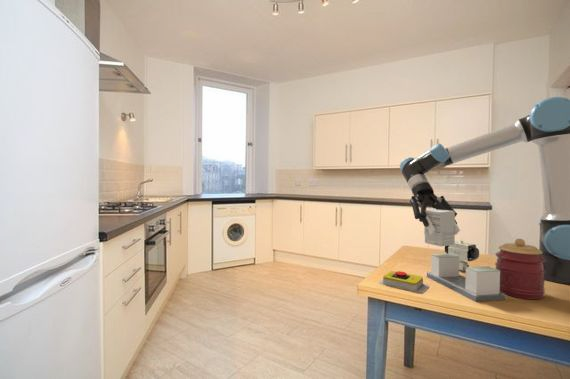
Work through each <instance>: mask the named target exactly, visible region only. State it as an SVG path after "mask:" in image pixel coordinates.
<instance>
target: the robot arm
mask: <svg viewBox="0 0 570 379" xmlns="http://www.w3.org/2000/svg"><path fill="white" fill-rule="evenodd" d="M521 142H524V143H529V142H532V143H533V144H535V145H537V146H538V154H539V156H538V157H539V165H540V173H541V182H542V183H541V184H542V191H543V201H544V209H545V210H544V212H545V213H544V215H542V216H541V217H540V219H539V222H538V223H539V245H538V246H539V247H538V249H539V250H541V251H542V252H543V253H542V254H541V256H542V257H543V258H545V259H546V261H545V262H544V263H543V266H544V269H545V280H546V281H549V282H554V283H560V284H564V285H565V284H566V285H570V99H569V98H566V97H562V96H552V97H547V98H545V99H543V100H541V101H539V102H538V103H536V104H535V105H534V106H533V107H532V108H531V110H530V113H529V114H528V115H526V116H524V117H521V118H519V119H516V121H515V123H513V124H510V125H508V126H504V127H502V128H499V129H496V130H493V131H490V132H488V133H484V134H482V135H479V136H476V137H474V138H471V139H469V140H468V139H467V140H465V141H463V142H459V143H456V144H453V145H451V146H449V147H444V145H443V144H441V143H436V145H434V146H431V147H430V148H428V149H427V150H426V151H424V152H423V153H421V154H420V155H419V156H417V157H416V158H414V157H408V158H404V159H403V160H401V162H400V163H399V164H400V165H399V169H400V171H401V174H402V176H403V177H404V180H405V181H406V182H407V184H408V186H409V187H408V188H410V191H411V193H412V196H411V198H409V203H410V204H411V208H412V210H413V217H414V219H415V220H418V221H419V222H420V223H422V224H423V226H424V228H425V227H427V229H428V231H429V233H430V235H433V234H434V233H435V231H436V230H435V228H434V226H433V225H432V223H431V221H430V219H429V217H426V212H425V210H427V207H431V208H433V210H437V209H440V210H450V211H455V210H454V208H453V207H452V206H451V205H450V204H449V202H448V201H447V200H446V198H445V196H443V195H441V196H438V195H436V194H435V192H434V191H435V190H434V189H433V187H432V185H431V184H430V181H429V180H428V178H427V177H426V175H425V174H427V173H429V172H430V171H431V170H433V169H443V168H446V167H448V166H451V165H452V164H457V163H459V162H462V161H465V160H469V159H471V158H474V157H478V156H481V155H485V154H487V153H490V152H493V151H497V150H499V149H502V148H506V147H509V146H512V145H516V144H518V143H521ZM457 216H458V212H456V211H455V218H456V217H457ZM460 231H461V230H460V227H459V226H458V222H457V221H456V219H455V235H456V236H457V235H458V234H459V233H460Z"/></svg>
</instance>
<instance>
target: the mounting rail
mask: <svg viewBox="0 0 570 379" xmlns="http://www.w3.org/2000/svg"><path fill="white" fill-rule="evenodd" d="M426 277H427V278H429V279H431V280H432V281H434V282H436V283H438V284H441V285H442V286H444V287H446V288H448V289H450V290H452V291H454V292H456V293H458V294H460V295H462V296H464V297H466V298H467V299H469V300H471V299H472V301H474V302H477V303H478V302H492V301H493V300H495V301H505V300H506V294H505V293H502V292H500V291H499V294H490V295H477V294H475V293H472V292H470V291H468V290H466V289H465V280H466V276H464V275H463V274H460V273H459V276H455V277H439V276H437V275H435V274H433V273H431V271H426Z"/></svg>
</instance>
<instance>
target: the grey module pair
mask: <svg viewBox="0 0 570 379" xmlns="http://www.w3.org/2000/svg"><path fill="white" fill-rule="evenodd" d="M430 256H431V257H430V258H431V259H430V272H431V273H433V274H435V275H437V276H439V277H455V276H459V274H460V270H459V256H456V255H453V254H447V253H431V254H430ZM465 277H466V280H465V289H466V290H468V291H470V292H472V293H475V294H477V295H490V294H499V291H500V270H497V269H496V268H494V267H492V266H491V267H490V266H469V267H466V270H465Z"/></svg>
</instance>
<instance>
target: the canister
mask: <svg viewBox="0 0 570 379" xmlns="http://www.w3.org/2000/svg"><path fill="white" fill-rule="evenodd" d="M498 249H499V251H497V252H495V253H494V254H495V256H496V257H497V258H496V262H495V263H494V265H495V269H497V270H500V292H502V293H505V295H506V296H510V297H515V298H520V299H526V300H541V299H544V296H545V294H546V293H545V291H546V288H545V269H544V266H543V263H544V262H545V261H546V259H545V258H543V257H542V256H541V254H542V253H543V252H542V251H541V250H539V248H538V247H537V246H534V245H531V244H526V242H525V240H524V239H522V238H517V239H515V241H514V243H512V242H507V243H503V244H502V245H499V246H498Z"/></svg>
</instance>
